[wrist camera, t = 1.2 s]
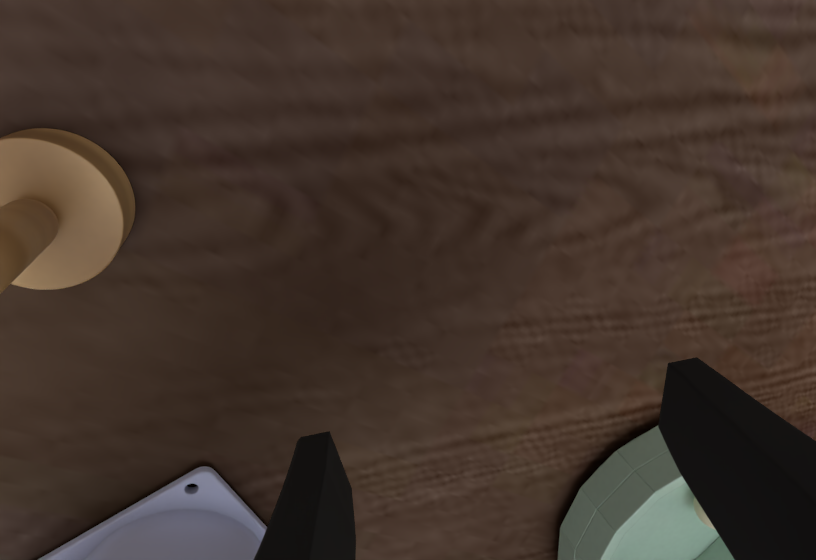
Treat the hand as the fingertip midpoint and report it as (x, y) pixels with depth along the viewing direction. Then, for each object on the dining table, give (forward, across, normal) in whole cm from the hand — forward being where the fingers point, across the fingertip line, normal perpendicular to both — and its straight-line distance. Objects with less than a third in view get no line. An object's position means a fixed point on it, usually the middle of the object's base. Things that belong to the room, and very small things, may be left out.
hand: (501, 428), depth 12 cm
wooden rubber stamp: (+9, +12, -4) cm, 15 cm away
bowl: (+9, -10, +21) cm, 25 cm away
